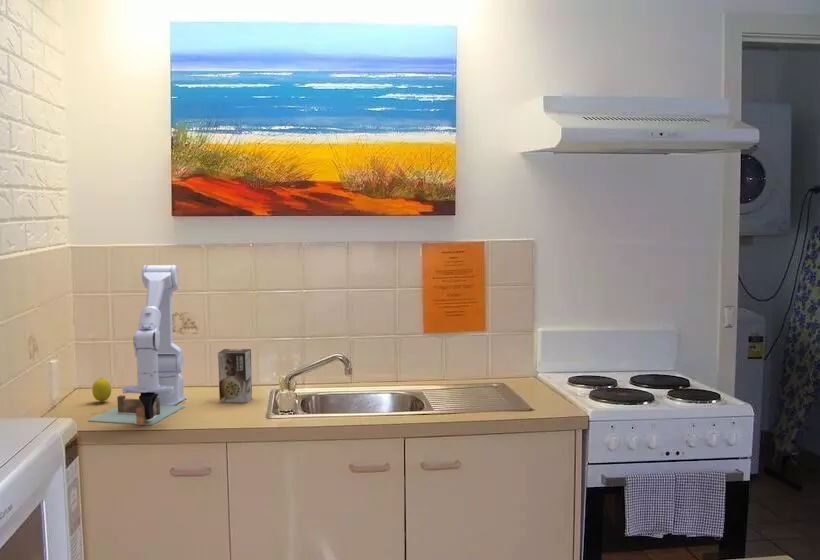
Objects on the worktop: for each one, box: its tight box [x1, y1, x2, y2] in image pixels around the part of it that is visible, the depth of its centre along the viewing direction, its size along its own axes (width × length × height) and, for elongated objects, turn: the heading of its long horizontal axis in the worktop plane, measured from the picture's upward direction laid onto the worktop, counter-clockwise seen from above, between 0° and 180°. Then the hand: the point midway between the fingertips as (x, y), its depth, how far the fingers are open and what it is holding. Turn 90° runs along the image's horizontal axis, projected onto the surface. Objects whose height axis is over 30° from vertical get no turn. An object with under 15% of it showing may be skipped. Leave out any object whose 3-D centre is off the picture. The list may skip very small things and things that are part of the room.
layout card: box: [87, 405, 186, 426], centre depth 240 cm, size 20×20×1 cm
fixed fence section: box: [116, 394, 160, 415], centre depth 239 cm, size 13×2×5 cm, turn 79°
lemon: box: [91, 377, 112, 403], centre depth 253 cm, size 6×6×8 cm
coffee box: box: [217, 348, 253, 404], centre depth 255 cm, size 9×6×16 cm
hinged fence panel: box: [136, 402, 157, 425], centre depth 232 cm, size 11×2×4 cm, turn 175°
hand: (149, 418), depth 230 cm, fingers closed
